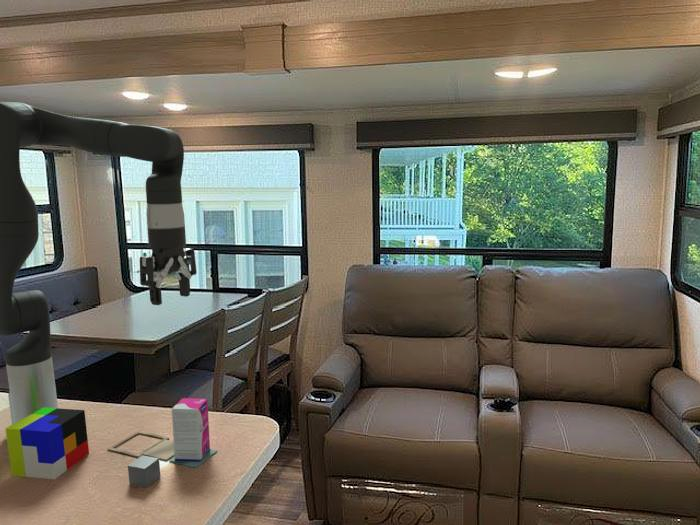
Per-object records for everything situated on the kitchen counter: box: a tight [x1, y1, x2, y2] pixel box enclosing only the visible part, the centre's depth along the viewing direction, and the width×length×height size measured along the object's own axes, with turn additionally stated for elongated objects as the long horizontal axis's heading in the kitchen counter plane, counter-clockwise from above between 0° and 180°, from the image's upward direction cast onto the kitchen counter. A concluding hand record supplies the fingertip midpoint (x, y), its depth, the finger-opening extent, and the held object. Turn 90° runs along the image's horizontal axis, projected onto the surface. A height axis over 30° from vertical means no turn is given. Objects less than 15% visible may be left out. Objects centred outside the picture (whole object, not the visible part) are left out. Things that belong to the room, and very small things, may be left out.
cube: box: [127, 455, 161, 489], centre depth 103 cm, size 4×4×4 cm
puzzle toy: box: [5, 407, 90, 480], centre depth 109 cm, size 10×10×10 cm
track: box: [107, 430, 218, 469], centre depth 115 cm, size 23×9×1 cm, turn 66°
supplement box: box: [171, 397, 211, 462], centre depth 111 cm, size 6×6×12 cm
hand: (171, 300), depth 114 cm, fingers open, 8 cm apart
